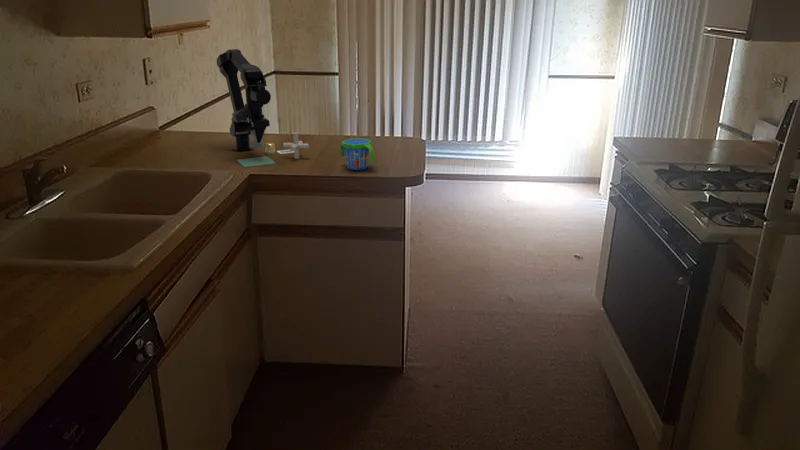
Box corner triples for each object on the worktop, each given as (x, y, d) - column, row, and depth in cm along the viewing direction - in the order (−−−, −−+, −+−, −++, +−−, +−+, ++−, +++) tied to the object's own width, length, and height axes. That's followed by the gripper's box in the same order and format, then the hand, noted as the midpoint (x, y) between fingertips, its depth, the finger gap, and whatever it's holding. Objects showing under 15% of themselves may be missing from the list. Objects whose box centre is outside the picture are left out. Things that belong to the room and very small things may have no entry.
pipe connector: (304, 161, 238) (303, 136, 235) (280, 160, 240) (278, 135, 237) (313, 155, 248) (312, 130, 244) (289, 154, 250) (288, 130, 246)
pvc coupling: (249, 144, 245) (249, 129, 243) (261, 143, 247) (261, 128, 245) (252, 148, 242) (251, 133, 239) (265, 147, 244) (264, 132, 241)
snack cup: (333, 166, 231) (331, 140, 228) (354, 162, 238) (354, 135, 235) (360, 175, 221) (359, 146, 217) (382, 169, 228) (381, 142, 224)
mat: (236, 160, 240) (236, 159, 240) (267, 157, 246) (267, 156, 245) (244, 167, 230) (244, 166, 230) (275, 164, 236) (275, 163, 235)
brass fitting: (264, 152, 253) (263, 143, 251) (273, 151, 254) (273, 142, 253) (266, 155, 249) (266, 145, 248) (276, 153, 251) (275, 144, 250)
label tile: (276, 151, 254) (276, 150, 254) (295, 149, 258) (295, 148, 258) (280, 154, 250) (280, 153, 250) (299, 152, 254) (299, 151, 254)
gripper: (227, 99, 243) (231, 139, 248) (238, 106, 227) (242, 148, 232) (255, 97, 247) (258, 136, 253) (268, 104, 232) (271, 145, 237)
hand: (257, 141), depth 244 cm, fingers closed on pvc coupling, 4 cm apart
